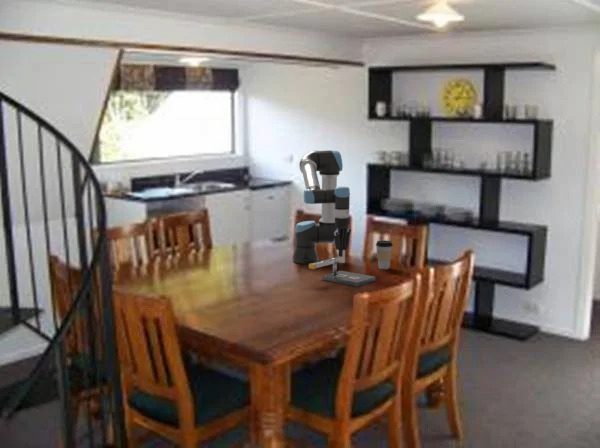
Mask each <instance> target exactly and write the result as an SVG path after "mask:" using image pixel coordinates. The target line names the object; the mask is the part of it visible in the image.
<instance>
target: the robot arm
mask: <svg viewBox="0 0 600 448" xmlns="http://www.w3.org/2000/svg"><path fill="white" fill-rule="evenodd" d="M343 167H344V166H343V159H342V155H341V152H340V151H338V150H330V149H329V150H311V151H308V152H306V153H305V154H304V155H303V156H302V157H301V159H300V162H299V170H300V172H301V173H302V177H303V181H304V185H305V189H304V190H303V203H305V204H307V205H309V204H311V205H316V204H317V205H318V204H319V205H320V204H321V217H320V218H319V219H318V223H316V221H315V220H306V221H300V222H298V223H296V225H295V230H294V232H295V249H294V252H293V255H292V262H293V263H296V264H303V265H306V264H308V265H309V264H311V263H316V262H319V255H318V252H317V249H316V244H335V249H336V250H338V258H339V262H338V263H342V264H344V263H345V262H346V251H347V250H348V248H349V243H350V235H351V231H352V229H351V228H349V225H350V201H351V200H350V198H351V197H350V195H351V193H350V187H349V186H337V185H338V184H337V183H338V177H339V175H340V172H342V171H343ZM317 172H318V174H319V175H320V176H321V185H320V182H319V177H318V174H317Z"/></svg>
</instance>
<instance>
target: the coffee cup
mask: <svg viewBox="0 0 600 448" xmlns="http://www.w3.org/2000/svg"><path fill="white" fill-rule="evenodd" d="M375 246H376V254H377V255H376V256H377V263H378V269H380V270H389V269H390V265H391V264H390V263H391V259H392V247H393V246H394V245H393V243H392V241H390V240H378V241H376V243H375Z"/></svg>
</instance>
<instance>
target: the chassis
mask: <svg viewBox="0 0 600 448" xmlns="http://www.w3.org/2000/svg"><path fill="white" fill-rule="evenodd" d="M337 268H338V263H334V264H332V272H331V273H329V274H325V275H322V281H327V282H332V283H337V284H343V285H347V286H353V287H360V286H363V285H366V284H369V283H371V282H374V281H376V276H373V275H367V274H362V273H356V272H351V271H346V270H338V269H337Z"/></svg>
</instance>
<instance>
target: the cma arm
mask: <svg viewBox="0 0 600 448" xmlns="http://www.w3.org/2000/svg"><path fill="white" fill-rule="evenodd" d="M334 263H337V264H338V263H340V262H339V257H331V258H327V259H324V260H320V261H318V262H316V263H308V269H311V270H316V269H318V268H322V267H326V266H330V265H333V264H334Z"/></svg>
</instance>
